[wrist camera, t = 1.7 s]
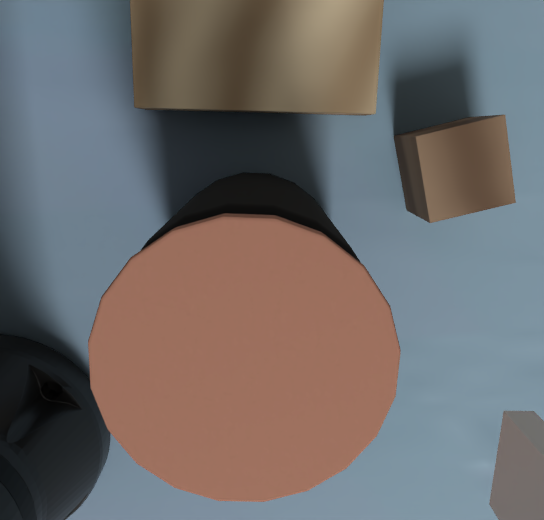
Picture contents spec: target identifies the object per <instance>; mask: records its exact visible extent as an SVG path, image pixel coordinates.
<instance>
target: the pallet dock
mask: <svg viewBox="0 0 544 520" xmlns="http://www.w3.org/2000/svg"><path fill="white" fill-rule="evenodd" d="M383 3H384V0H130V11H131V36H132V61H133V85H134V107H135V108H140V109H146V110H181V111H218V112H256V113H293V114H331V115H371V114H375V113H376V100H377V86H378V72H379V58H380V44H381V31H382V17H383Z"/></svg>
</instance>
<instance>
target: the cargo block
mask: <svg viewBox="0 0 544 520" xmlns="http://www.w3.org/2000/svg"><path fill="white" fill-rule="evenodd" d="M394 141H395V147H396V153H397V158H398V164H399V170H400V175H401V181H402V187H403V192H404V198H405V204H406V209H407V211H409V212H411V213H413V214H414V215H416V216H418V217H420V218H422V219H424V220H425V221H427V222H429V223H432V222H436V221H440V220H445V219H449V218H453V217H457V216H461V215H466V214H470V213H474V212H478V211H482V210H487V209H491V208H495V207H499V206H503V205H508V204H512V203H516V201H515V193H514V185H513V177H512V168H511V160H510V152H509V144H508V135H507V127H506V119H505V115H493V116H479V117H468V118H464V119H460V120H456V121H452V122H448V123H444V124H440V125H436V126H432V127H428V128H424V129H420V130H416V131H412V132H408V133H403V134H399V135H395V136H394Z"/></svg>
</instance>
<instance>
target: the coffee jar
mask: <svg viewBox="0 0 544 520" xmlns="http://www.w3.org/2000/svg"><path fill="white" fill-rule="evenodd" d="M88 347H89V366H90V385H91V390H92V392H93V395H94V397H95V400H96V402H97V405H98V407H99V409H100V412H101V414H102V417H103V419H104V422H105V424H106V427H107V429H108V430H109V431H110V433H111V434H112V435H113V436H114V437H115V438H116V440H117V441H118V442H119V443H120V444H121V446H122V447H123V448H124V449H125V450H126V451H127V453H128V454H129V455H130V456H131V457H132V458H133V460H134V461H135V462H136V463H137V464H138V465H140V466H142V467H143V468H145V469H146V470H148V471H149V472H151V473H153V474H154V475H156V476H157V477H159V478H160V479H162V480H164V481H165V482H167V483H168V484H170V485H171V486H173V487H174V488H177V489H181V490H184V491H187V492H191V493H194V494H198V495H201V496H204V497H208V498H211V499H214V500H218V501H254V502H265V501H268V500H272V499H276V498H280V497H284V496H288V495H292V494H296V493H300V492H304V491H308V490H310V489H311V488H313V487H315V486H316V485H318V484H320V483H322V482H323V481H325V480H327V479H329V478H330V477H332V476H334V475H336V474H337V473H339V472H341V471H342V470H344V469H346V468H347V467H348V466H349V465H350V464H351V463H352V462H353V461H354V460H355V458H356V457H357V456H358V455H359V454H360V453H361V452H362V451H363V450H364V449H365V448H366V447H367V446H368V445H369V444H370V443H371V441H372V440H373V439H374V438H375V437H376V436H377V434H378V432H379V430H380V428H381V426H382V424H383V421H384V419H385V417H386V415H387V413H388V411H389V409H390V407H391V405H392V402H393V400H394V398H395V395H396V387H397V378H398V369H399V360H400V351H401V350H400V346H399V342H398V338H397V333H396V329H395V325H394V321H393V316H392V312H391V308H390V305H389V304H388V302H387V300H386V299H385V297H384V296H383V294H382V293H381V291H380V290H379V288H378V286H377V285H376V283H375V282H374V280H373V279H372V277H371V276H370V274H369V272H368V271H367V269H366V268H365V266H364V265H363V264H361V262H360V261H359V259H358V258H357V256H356V255H355V253H354V251H353V250H352V248H351V247H350V246H349V244H348V243H347V242H346V240H345V239H344V238H343V236H342V235H341V234H340V232H339V231H338V230H337V228H336V227H335V226H334V224H333V223H332V222H331V220H330V219H329V218H328V217H327V215H326V214H325V213H324V211H323V210H322V209H321V207H320V206H319V205H318V203H317V202H316V201H315V199H314V198H312V197H311V196H310V195H309V194H307V193H306V192H305V191H304V190H302V189H301V188H300V187H299V186H297V185H296V184H295V183H293V182H290V181H288V180H285V179H282V178H280V177H277V176H274V175H272V174H265V173H240V174H237V175H233V176H230V177H226V178H223V179H219V180H217V181H215V182H214V183H213V184H211V185H210V186H208V187H207V188H205V189H204V190H202V191H201V192H199V193H198V194H196V195H195V196H194V197H193V198H192V199H191V200H190V201H189V202H188V203H187V204H186V205H185V206H184V207H183V208H182V209H181V210H180V211H179V212H177V213H176V214H175V215H174V216H173V217H172V218H171V219H170V220H169V221H168V222H167V223H166V224H165V225H164V226H163V227H162V228H161V229H160V230H159V231H157V232H156V233H155V234H154V235H153V236H152V237H151V238H150V239H149V240H148V241H147V243H146V244H145V245H144V247H143V248H142V249H141V251H140V252H138V253H137V254H135V255H134V256H132V257H131V258H130V259H129V261H128V262H127V263H126V265H125V266H124V267H123V269H122V270H121V271H120V273H119V274H118V275H117V277H116V278H115V279H114V281H113V282H112V283H111V285H110V286H109V288H108V289H107V290H106V292H105V293H104V294H103V296H102V297H101V301H100V304H99V307H98V311H97V314H96V317H95V320H94V324H93V327H92V330H91V334H90V337H89V340H88Z"/></svg>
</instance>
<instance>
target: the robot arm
mask: <svg viewBox="0 0 544 520" xmlns="http://www.w3.org/2000/svg"><path fill="white" fill-rule="evenodd" d="M109 446H110V431H109V430H108V429H107V427H106V424H105V422H104V419H103V417H102V414H101V412H100V409H99V407H98V405H97V402H96V400H95V397H94V395H93V392H92V390H91V385H90V380H89V379H88V378H87V376H86V375H85V374H84V373H83V372H82V371H81V370H80V369H79V368H78V367H77V366H76V365H75V364H73V363H72V362H71V361H70V360H68V359H67V358H66V357H64V356H63V355H61V354H60V353H58V352H56V351H54V350H53V349H51V348H49V347H47V346H44V345H42V344H40V343H37V342H34V341H31V340H28V339H24V338H20V337H15V336H8V335H0V520H65V519H67V518H68V517H69V516H70V515H72V514H73V513H74V512H75V511H76V510H77V509H78V508H79V507H80V506H81V505H82V504H83V502H84V501H85V500H86V499H87V497H88V496H89V494H90V493H91V491H92V489H93V488H94V486H95V484H96V482H97V480H98V478H99V475H100V473H101V471H102V469H103V467H104V465H105V462H106V459H107V456H108V452H109ZM489 504H490V506H491V508H492V509H493V511H494V513H495V514H496V516H497V517H498V519H499V520H544V421H543V420H542V419H541V418H540V417H539V416H538V415H537V414H536V413H535V412H534V411H504V413H503V419H502V426H501V432H500V439H499V445H498V451H497V458H496V464H495V471H494V477H493V484H492V490H491V497H490V503H489Z"/></svg>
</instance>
